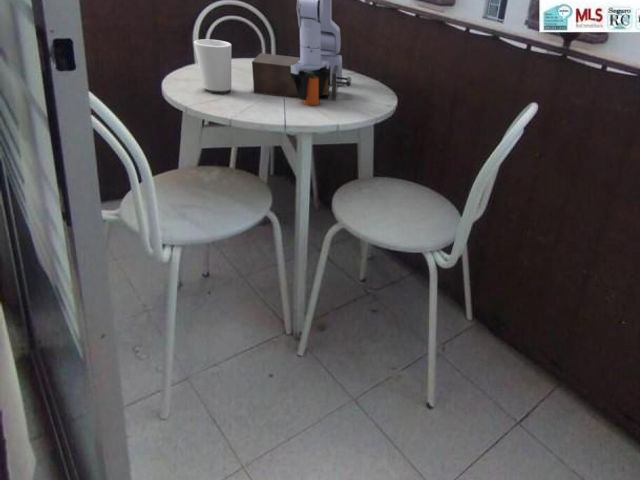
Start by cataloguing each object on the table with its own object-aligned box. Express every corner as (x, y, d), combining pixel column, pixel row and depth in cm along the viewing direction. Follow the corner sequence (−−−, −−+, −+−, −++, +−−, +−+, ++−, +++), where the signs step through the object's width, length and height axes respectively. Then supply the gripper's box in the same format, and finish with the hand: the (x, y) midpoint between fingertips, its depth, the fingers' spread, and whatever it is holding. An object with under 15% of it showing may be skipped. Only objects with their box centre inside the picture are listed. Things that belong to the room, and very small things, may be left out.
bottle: (321, 103, 152) (321, 73, 147) (313, 106, 149) (313, 75, 144) (307, 100, 153) (307, 70, 148) (299, 103, 150) (299, 72, 145)
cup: (193, 91, 146) (186, 42, 138) (210, 84, 154) (205, 37, 146) (225, 97, 145) (220, 48, 137) (241, 90, 153) (237, 43, 145)
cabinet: (308, 87, 165) (307, 58, 160) (303, 98, 154) (302, 67, 149) (262, 82, 163) (260, 52, 158) (254, 92, 152) (251, 61, 147)
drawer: (351, 89, 166) (352, 67, 162) (349, 99, 156) (350, 75, 152) (295, 83, 164) (295, 60, 160) (290, 93, 154) (290, 68, 150)
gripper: (315, 41, 149) (315, 90, 157) (281, 45, 138) (283, 97, 146) (335, 46, 146) (334, 96, 154) (301, 50, 136) (302, 103, 144)
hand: (310, 97), depth 150 cm, fingers open, 7 cm apart
